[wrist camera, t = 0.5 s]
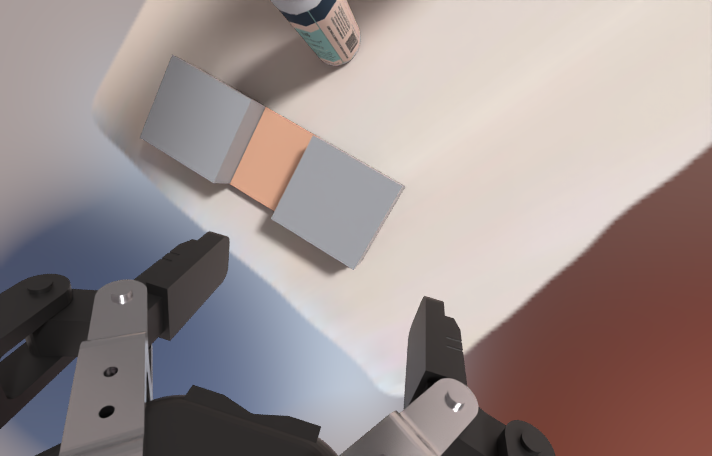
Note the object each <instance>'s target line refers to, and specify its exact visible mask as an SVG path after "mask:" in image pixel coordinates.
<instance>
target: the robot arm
mask: <svg viewBox="0 0 712 456" xmlns="http://www.w3.org/2000/svg"><path fill="white" fill-rule="evenodd" d="M228 260H229V237H227V236H224V235H221V234H217V233H214V232H207V233H206V234H205V235H203V237H201V238H200V239H199V240H193V239H192V240H190V241H187V242H184V243H182V244H179V245H178V246H177V247H175V248H174V249H173V250H171V251H170V253H168V254H166V255H165V256H164V257H163V258H162V259H160V260H159V261H157V262H156V263H155V264H153V265H152V266H151V267H150V268H148V269H147V270H146V271H144V272H143V273H142V274H141V275H139V276H138V277H137V278H135V279H134V280H119V281H115V282H111V283H109V284H107V285H105V286H103V287H102V288H100V289H99V290H81V289H71V285H70V281H69V279H68V278H66V277H65V276H62V275H58V274H43V275H37V276H33V277H30V278H27V279H25V280H23V281H21V282H19V283H17V284H16V285H14V286H12V287H11V288H9V289H7V290H6V291H4V292H2V293H1V294H0V358H1V357H2V356H3V355H4V354H5V353H6V352H8V351H9V350H10V349H12V348H13V347H14V346H16V345H17V344H18V343H19V342H21V341H22V340H23V339H26V342H25V343H24V344H23V345H21V346H20V347H19V348H18V349H16V350H15V351H14V352H12V353H11V354H10V355H9V356H7V357H6V358H5V359H4V360H3V361H1V362H0V429H1V428H2V427H3V426H4V425H5V424H6V423H7V422H8V421H9V420H10V419H11V418H12V417H14V416H15V415H16V414H17V413H18V412H19V411H20V410H21V409H22V408H23V407H24V406H25V405H26V404H27V403H28V402H29V401H30V400H31V399H33V397H35V396H36V395H37V394H38V393H39V392H40V391H41V390H42V389H43V388H44V387H45V386H46V385H47V384H48V383H49V382H50V381H52V379H54V378H55V377H56V376H57V374H59V373H60V372H61V371H62V370H63V369H64V368H65V367H66V366H67V365H68V364H69V363H70V362H72V360H74V359H75V358H76V357H78V359H77V364H76V370H75V375H74V380H73V385H72V390H71V396H70V401H69V406H68V411H67V416H66V422H65V427H64V432H63V437H62V443H60V444H58V445H56V446H54V447H52V448H50V449H48V450H46V451H44V452H42V453H40V454H38V455H35V456H338V455H337V454H336V453H335V451H333V449H332V448H331V447H330V446H329V445H328V444H326V443H325V442H324V441H323V440H321V439H320V438H318V435H319V432H320V428H321V426H318V425H314V424H312V423H309V422H305V421H302V420H299V419H296V418H293V417H290V416H278V415H261V414H252V413H250V412H248V411H247V410H246V409H244V408H243V407H241V406H239V405H238V404H237V403H235V402H234V401H232V400H231V399H229V398H228V397H226V396H225V395H223V394H219V393H216V392H213V391H210V390H207V389H204V388H201V387H198V386H195V385H193V386H192V387H191V388H190V390H189V391H188V393H187V394H186V395H173V396H166V397H162V398H158V399H154V400H153V386H152V383H153V379H152V378H153V376H152V375H153V374H152V343H153V342H154V341H155V340H156V339H157V338H158V337H159V338H163V339H166V340H169V341H170V340H171V339H172V338H173V337H174V336H175V335H176V334H177V333H178V331H179V330H180V329H181V328H182V327H183V326H184V325H185V324H186V322H187V321H188V320H189V319H190V318H191V317H192V316H193V315H194V313H195V312H196V311H197V310H198V309H199V308H200V307H201V306H202V305H203V303H204V302H205V301H206V300H207V299H208V298H209V297H210V295H211V294H212V293H213V292H214V291H215V290H216V289H217V287H219V285H220V284H221V283H222V282H223V280H224V279H225V277H226V274H227V271H228ZM461 341H462V340H461V332H460V329H459V327H458V325H457V323H456V322H455V320H454V318H450V317H447V316H445V312H444V302H443V301H440V300H436V299H433V298H430V297H426V296H424V297H423V299H422V301H421V303H420V306H419V308H418V311H417V313H416V315H415V318H414V320H413V323H412V325H411V328H410V332H409V337H408V349H407V365H406V381H405V397H404V410H403V411H402V412H400V413H398V412H397V411H394V412H392V413H390V414H389V415H388V416H387V417H385V418H384V419H383V420H382V421H381V422H379V423H378V424H377V425H376V426H374V427H373V428H372V429H371V430H370V431H368V432H367V433H366V434H365V435H364V436H362V437H361V438H360V439H359V440H358V441H356V442H355V443H354V444H353V445H352V446H350V447H349V448H348V449H347V450H345V451H344V452H343V453H342V454H341V455H339V456H555V453H554V450H553V448H552V446H551V444H550V442H549V441H548V439H547V438H546V437H545V436H544V435H543V434H542V433H541V432H540V431H539V430H538V429H537V428H535V427H534V426H532V425H531V424H529V423H527V422H524V421H519V420H514V421H511V422H509V423H508V424H507V426H506V425H504V424H503V423H501V422H499V421H498V420H496V419H495V418H493V417H491V416H490V415H488V414H487V413H485V412H484V411H483V410H482V409H480V408H479V407H478V403H477V400H476V398H475V396H474V394H473V393H472V392H471V390H470V389H469V388H468V387H467V381H466V373H465V365H464V357H463V352H462V350H463V348H462V343H461Z"/></svg>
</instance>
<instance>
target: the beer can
mask: <svg viewBox="0 0 712 456" xmlns="http://www.w3.org/2000/svg"><path fill="white" fill-rule="evenodd" d="M271 1H272V3H273V4H274V5H275V6H276V7H277V8H278V9H279V10H280V12H281V13H282V14H283V15H284V16H285V18H286V19H287V20H288V21H289V22H290V23H291V25H292V26H293V27H294V28H295V29H296V31H297V32H298V33H299V34H300V35H301V36H302V38H303V39H304V40H305V41H306V42H307V44H308V45H309V46H310V47H311V48H312V49H313V51H314V52H315V53H316V54H317V55H318V57H319V58H320V59H321V60H322V61H323V62H324V63H326V64H329V65H332V66H339V65H343V64H345V63H347V62H349V61H350V60H351V59H352V58H353V57H354V56H355V54H356V53H357V51H358V49H359V47H360V42H361V34H360V30H359V27H358V25H357V23H356V21H355V18H354V16H353V14H352V12H351V9H350V7H349V5H348V3H347V0H271Z"/></svg>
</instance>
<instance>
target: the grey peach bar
mask: <svg viewBox="0 0 712 456" xmlns="http://www.w3.org/2000/svg"><path fill="white" fill-rule="evenodd" d="M140 138H141V139H143V140H144V141H146V142H148V143H149V144H151V145H152V146H154V147H156V148H157V149H159V150H161V151H162V152H164V153H165V154H167V155H169V156H170V157H172V158H173V159H175V160H177V161H178V162H180V163H182V164H183V165H185V166H186V167H188V168H190V169H191V170H193V171H194V172H196V173H198V174H199V175H201V176H203V177H204V178H206V179H207V180H209V181H211V182H212V183H228V184H231V185H232V186H234V187H236V188H237V189H239V190H240V191H242V192H244V193H245V194H247V195H249V196H250V197H252V198H253V199H255V200H257V201H258V202H260V203H262V204H263V205H265V206H266V207H268V208H270V209H271V210H273V211H274V213H273V215H272V217H271V219H272V220H274V221H275V222H277V223H278V224H280V225H282V226H283V227H285V228H286V229H288V230H290V231H291V232H293V233H295V234H296V235H298V236H299V237H301V238H303V239H304V240H306V241H307V242H309V243H311V244H312V245H314V246H316V247H317V248H319V249H320V250H322V251H324V252H325V253H327V254H328V255H330V256H332V257H333V258H335V259H337V260H338V261H340V262H341V263H343V264H345V265H346V266H348V267H349V268H351V269H353V270H354V269H355V268H356V267H357V266H358V265H359V263H360V262H361V261H362V260H363V258H364V256H365V255H366V253H367V251H368V249H369V248H370V246H371V244H372V243H373V241H374V239H375V237H376V236H377V234H378V232H379V231H380V229H381V227H382V225H383V224H384V222H385V220H386V219H387V217H388V215H389V214H390V212H391V210H392V208H393V207H394V205H395V203H396V202H397V200H398V198H399V196H400V195H401V193H402V191H403V190H404V188H405V186H404V185H402V184H400V183H398V182H397V181H395V180H393V179H391V178H390V177H388V176H386V175H384V174H383V173H381V172H379V171H377V170H376V169H374V168H372V167H370V166H369V165H367V164H365V163H363V162H362V161H360V160H358V159H356V158H355V157H353V156H351V155H349V154H348V153H346V152H344V151H342V150H341V149H339V148H337V147H335V146H334V145H332V144H330V143H328V142H327V141H325V140H323V139H321V138H320V137H318V136H316V135H315V134H313V133H311V132H309V131H308V130H306V129H304V128H302V127H301V126H299V125H297V124H295V123H294V122H292V121H290V120H288V119H287V118H285V117H283V116H281V115H280V114H278V113H276V112H274V111H273V110H271V109H269V108H267V107H266V106H264V105H262V104H260V103H259V102H257V101H255V100H253V99H252V98H250V97H248V96H246V95H245V94H243V93H241V92H239V91H238V90H236V89H234V88H232V87H231V86H229V85H227V84H225V83H224V82H222V81H220V80H218V79H217V78H215V77H213V76H212V75H210V74H208V73H206V72H205V71H203V70H201V69H199V68H197V67H195V66H194V65H192V64H190V63H188V62H186V61H184V60H182V59H180V58H178V57H176V56H174V55H172V57H171V59H170V62H169V65H168V67H167V70H166V72H165V75H164V77H163V80H162V82H161V85H160V87H159V90H158V92H157V95H156V98H155V100H154V103H153V105H152V108H151V110H150V113H149V115H148V118H147V120H146V123H145V125H144V128H143V131H142V133H141V136H140Z"/></svg>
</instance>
